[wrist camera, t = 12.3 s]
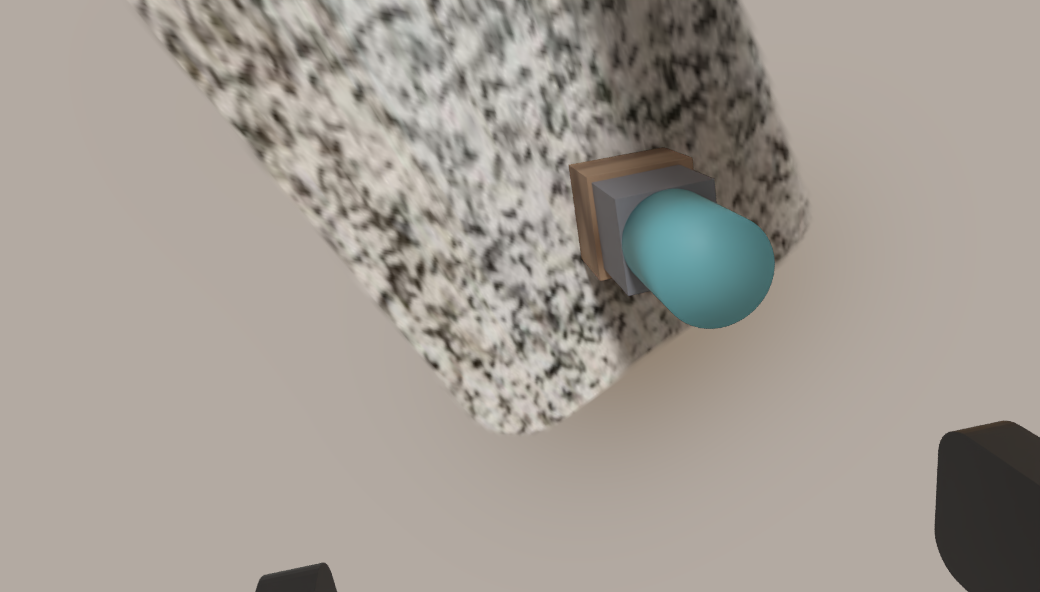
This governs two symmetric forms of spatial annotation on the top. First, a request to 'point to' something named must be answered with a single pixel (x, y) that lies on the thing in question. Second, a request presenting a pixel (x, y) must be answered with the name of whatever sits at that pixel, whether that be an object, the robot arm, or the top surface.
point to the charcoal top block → (620, 201)
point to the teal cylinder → (698, 257)
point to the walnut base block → (605, 170)
